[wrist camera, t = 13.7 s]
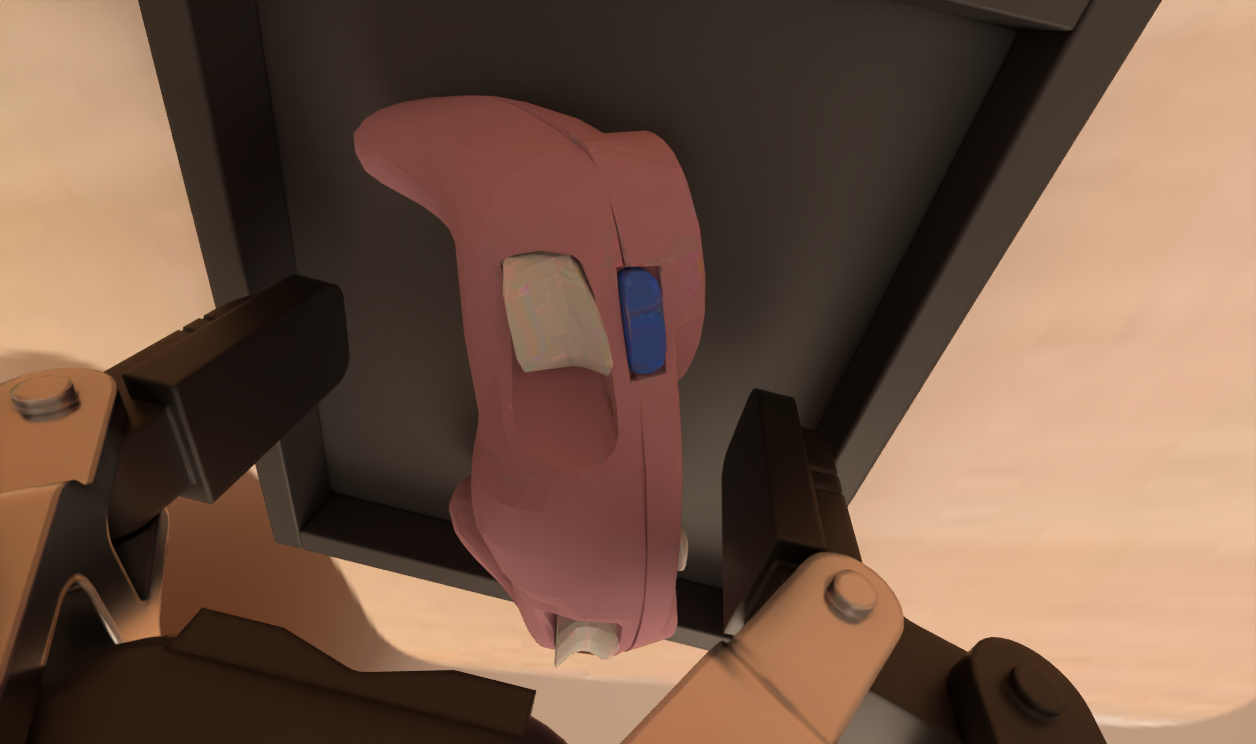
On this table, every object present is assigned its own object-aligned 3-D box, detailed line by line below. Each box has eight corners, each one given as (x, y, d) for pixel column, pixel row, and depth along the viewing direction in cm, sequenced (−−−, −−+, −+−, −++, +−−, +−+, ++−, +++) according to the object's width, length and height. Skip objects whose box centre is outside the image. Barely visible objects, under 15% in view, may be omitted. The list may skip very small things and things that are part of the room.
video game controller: (615, 463, 16) (730, 704, 10) (452, 502, 14) (479, 801, 9) (605, 75, 10) (835, 127, 5) (346, 84, 9) (247, 168, 4)
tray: (318, 491, 17) (274, 543, 15) (195, -234, 8) (59, -301, 6) (749, 598, 17) (752, 662, 15) (1087, -20, 8) (1186, -31, 6)
